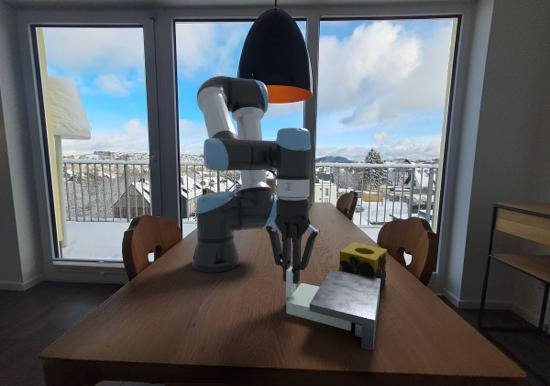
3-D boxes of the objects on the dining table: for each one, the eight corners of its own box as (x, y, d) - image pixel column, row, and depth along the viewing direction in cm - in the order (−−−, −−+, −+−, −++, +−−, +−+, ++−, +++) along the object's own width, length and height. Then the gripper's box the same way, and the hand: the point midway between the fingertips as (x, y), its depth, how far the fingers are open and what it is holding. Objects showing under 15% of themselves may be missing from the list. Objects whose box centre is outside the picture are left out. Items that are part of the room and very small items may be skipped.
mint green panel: (286, 314, 58) (286, 301, 58) (301, 293, 67) (301, 282, 67) (350, 332, 53) (351, 318, 52) (357, 307, 62) (357, 295, 61)
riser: (308, 332, 52) (309, 303, 51) (329, 291, 68) (330, 269, 67) (372, 351, 47) (374, 320, 46) (379, 302, 63) (380, 278, 62)
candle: (351, 273, 79) (353, 241, 78) (386, 283, 73) (388, 248, 72) (336, 285, 72) (338, 250, 70) (373, 297, 65) (376, 259, 64)
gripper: (259, 197, 59) (259, 295, 62) (315, 201, 54) (312, 309, 56) (274, 194, 66) (273, 282, 69) (324, 197, 60) (321, 293, 63)
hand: (291, 294), depth 63 cm, fingers closed
